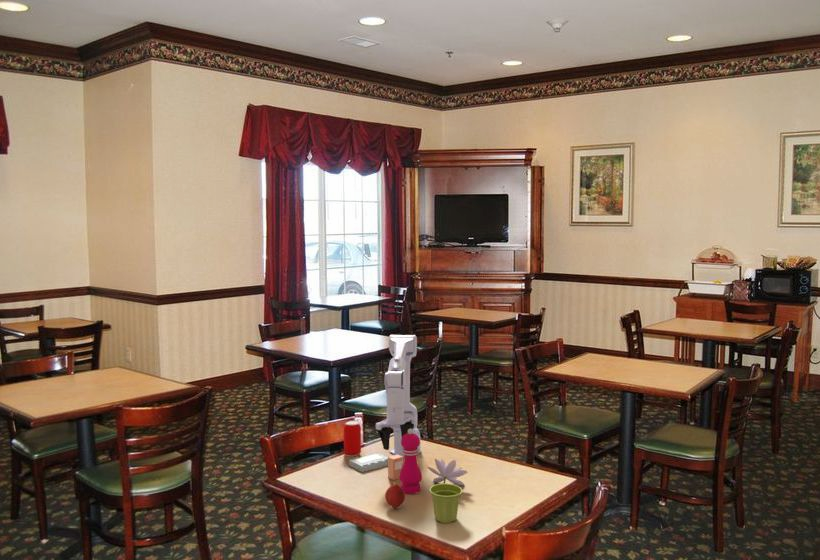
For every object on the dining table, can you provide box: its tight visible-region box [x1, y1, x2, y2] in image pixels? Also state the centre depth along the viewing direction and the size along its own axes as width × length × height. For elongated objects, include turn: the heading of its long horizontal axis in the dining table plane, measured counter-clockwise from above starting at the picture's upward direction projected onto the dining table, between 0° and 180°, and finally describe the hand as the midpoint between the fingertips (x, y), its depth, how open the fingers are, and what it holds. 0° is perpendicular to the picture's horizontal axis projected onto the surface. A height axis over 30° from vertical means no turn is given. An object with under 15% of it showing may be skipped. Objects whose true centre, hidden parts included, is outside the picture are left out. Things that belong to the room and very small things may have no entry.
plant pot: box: [429, 483, 463, 524], centre depth 198 cm, size 9×9×9 cm
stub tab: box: [387, 454, 404, 481], centre depth 231 cm, size 4×3×7 cm
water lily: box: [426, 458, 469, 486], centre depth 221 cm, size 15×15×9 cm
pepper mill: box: [399, 429, 423, 495], centre depth 219 cm, size 7×7×20 cm
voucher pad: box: [349, 452, 388, 473], centre depth 243 cm, size 12×8×2 cm, turn 128°
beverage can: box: [343, 420, 362, 458], centre depth 254 cm, size 6×6×12 cm
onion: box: [384, 482, 406, 510], centre depth 206 cm, size 6×6×8 cm
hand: (395, 446), depth 231 cm, fingers open, 7 cm apart
